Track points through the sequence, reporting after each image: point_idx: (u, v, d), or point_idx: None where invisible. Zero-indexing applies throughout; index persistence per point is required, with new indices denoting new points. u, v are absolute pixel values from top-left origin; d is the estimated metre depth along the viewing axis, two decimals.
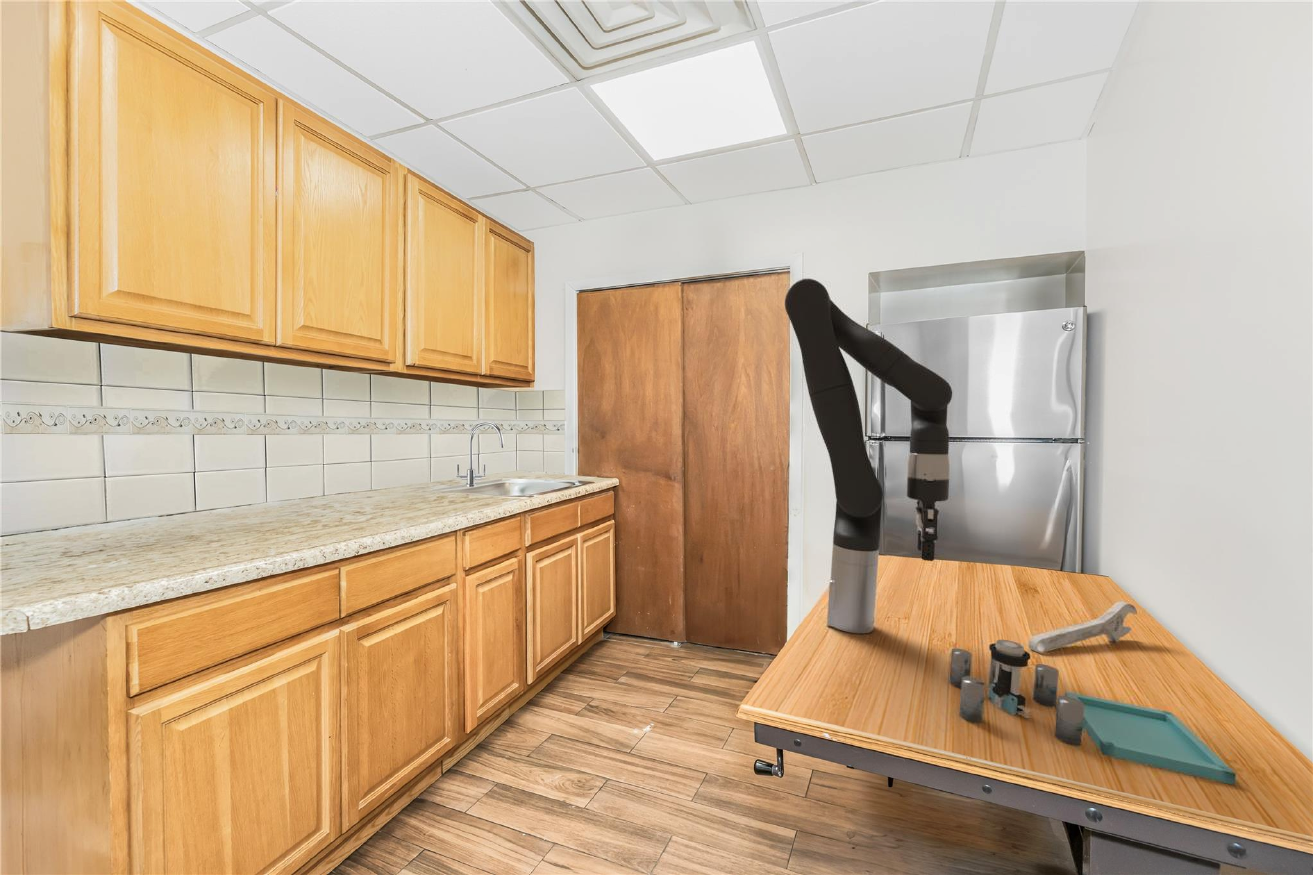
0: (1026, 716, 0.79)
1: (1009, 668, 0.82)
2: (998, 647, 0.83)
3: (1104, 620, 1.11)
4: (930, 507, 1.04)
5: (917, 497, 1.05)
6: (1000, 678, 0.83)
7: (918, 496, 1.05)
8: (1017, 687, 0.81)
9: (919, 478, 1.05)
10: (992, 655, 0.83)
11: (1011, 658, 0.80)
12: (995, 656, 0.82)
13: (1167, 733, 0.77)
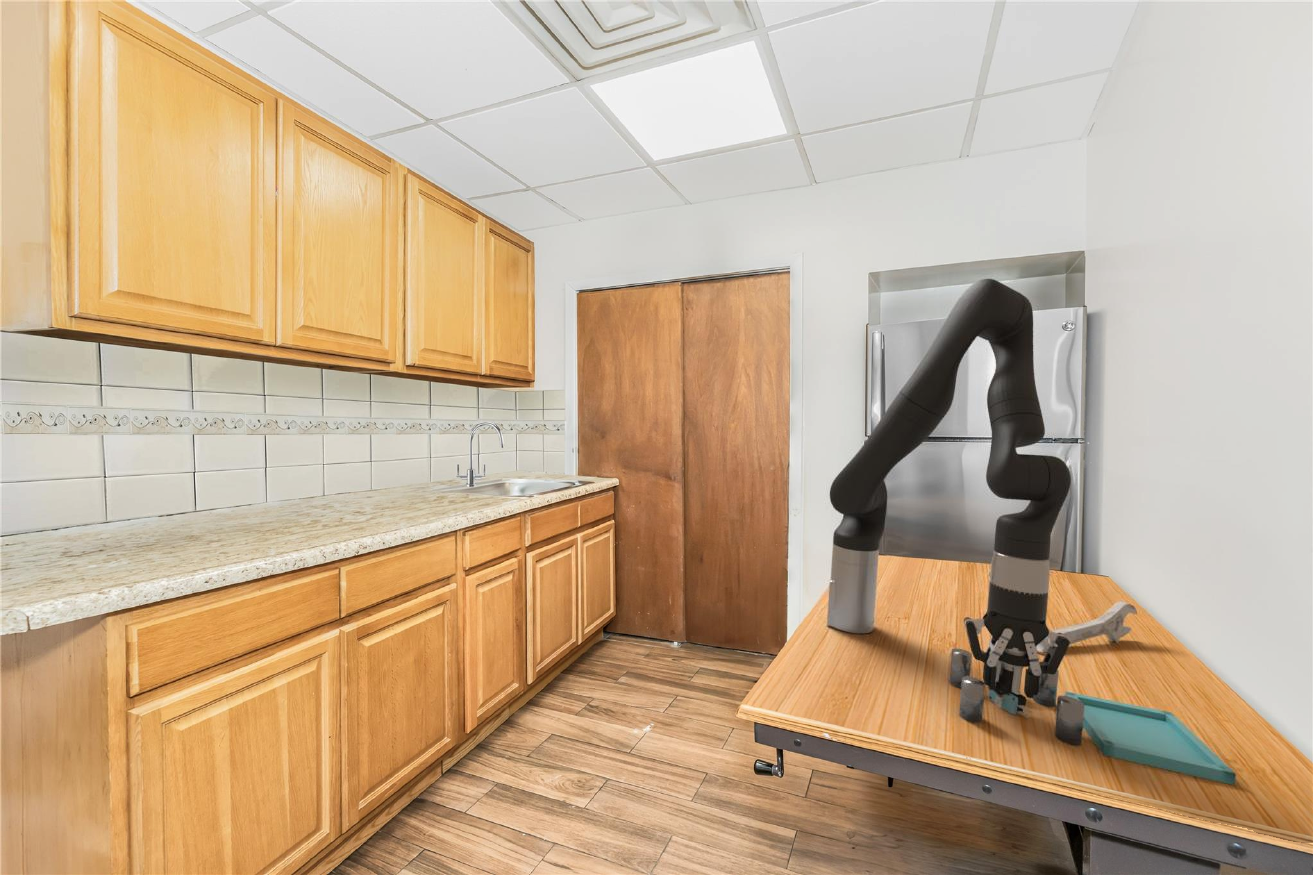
0: (1026, 716, 0.79)
1: (1011, 668, 0.82)
2: None
3: (1104, 620, 1.11)
4: None
5: (1044, 618, 0.79)
6: (1001, 677, 0.83)
7: (1045, 616, 0.79)
8: (1018, 687, 0.81)
9: (1046, 592, 0.79)
10: None
11: (1014, 657, 0.80)
12: None
13: (1167, 733, 0.77)
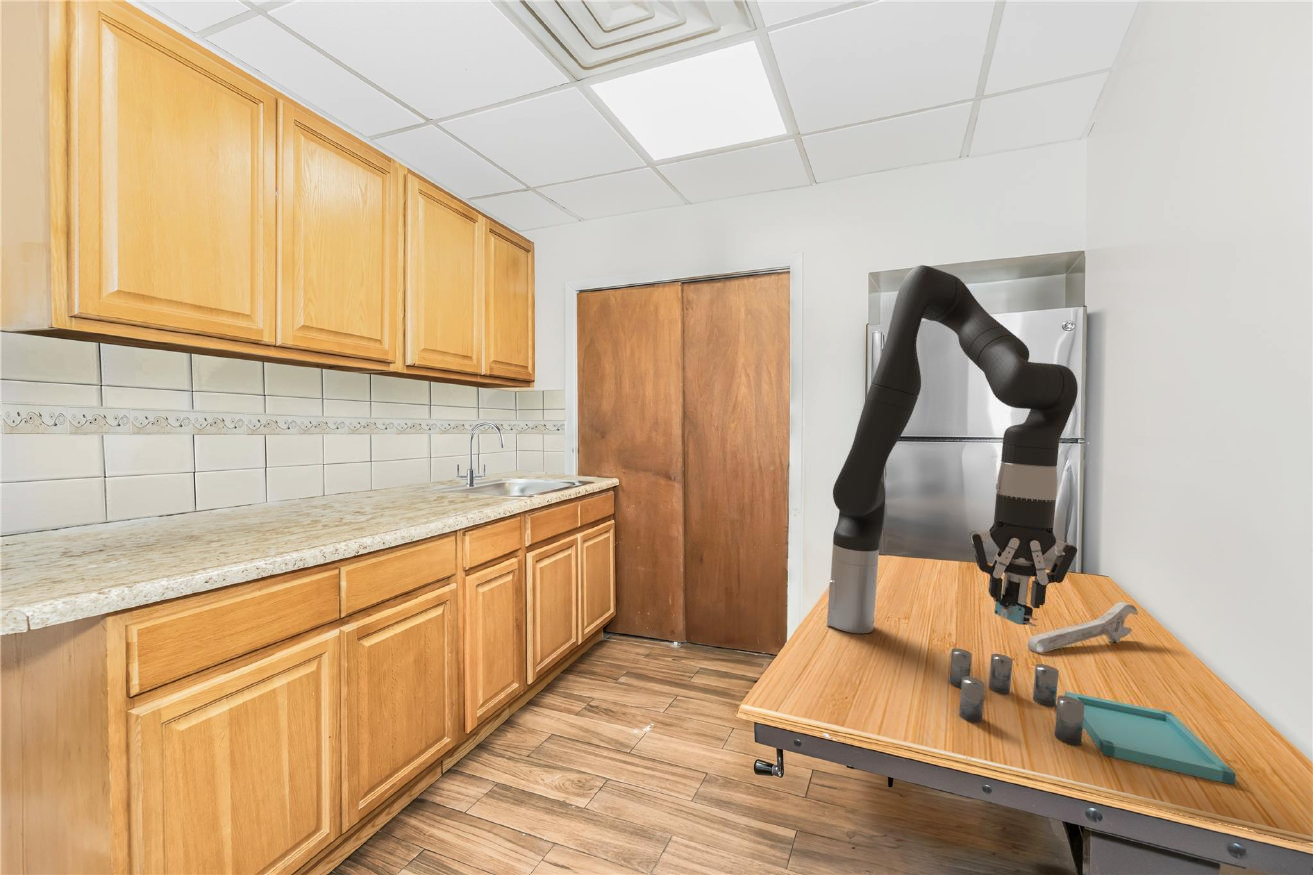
0: (1033, 625, 0.79)
1: (1017, 579, 0.81)
2: None
3: (1104, 620, 1.10)
4: None
5: (1051, 525, 0.78)
6: (1008, 589, 0.82)
7: (1052, 524, 0.78)
8: (1025, 597, 0.81)
9: (1054, 499, 0.78)
10: None
11: (1020, 567, 0.80)
12: None
13: (1167, 733, 0.77)
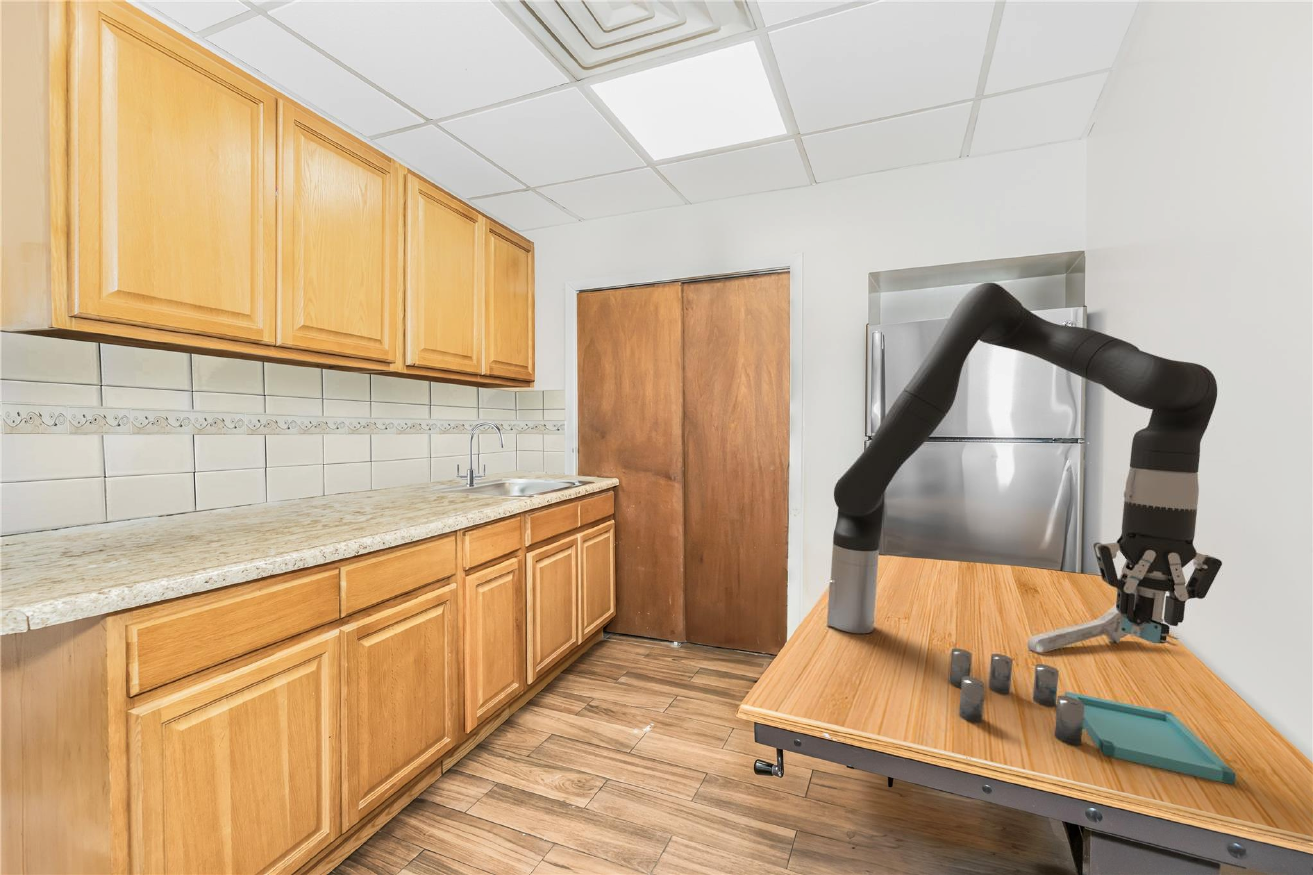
0: (1173, 644, 0.73)
1: (1150, 594, 0.75)
2: None
3: (1104, 621, 1.10)
4: None
5: (1193, 536, 0.72)
6: (1139, 605, 0.76)
7: (1194, 535, 0.72)
8: (1160, 614, 0.75)
9: (1196, 508, 0.72)
10: None
11: (1157, 581, 0.74)
12: None
13: (1167, 733, 0.77)
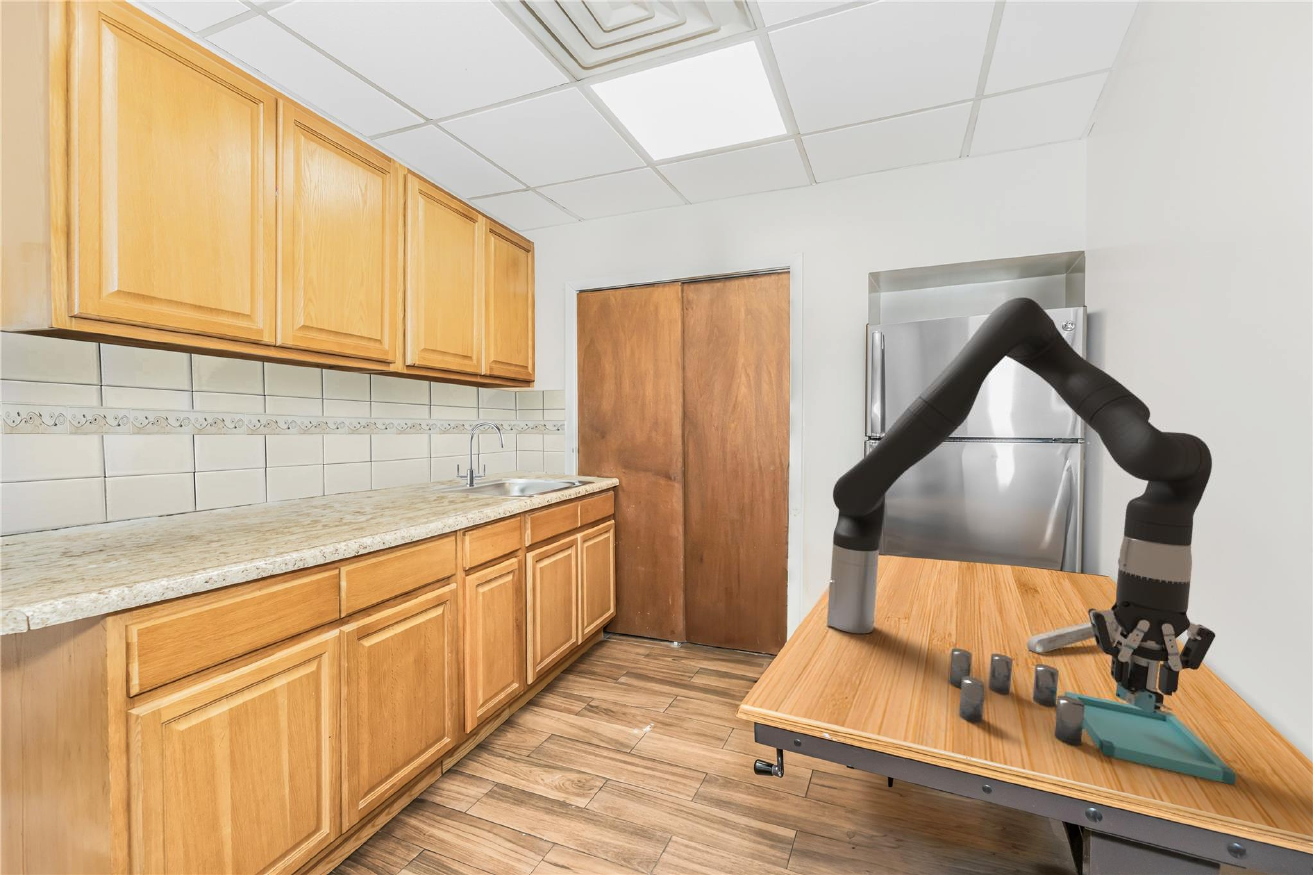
0: (1167, 714, 0.73)
1: (1145, 662, 0.76)
2: None
3: None
4: None
5: (1187, 608, 0.73)
6: (1133, 673, 0.77)
7: (1187, 606, 0.73)
8: (1154, 683, 0.75)
9: (1189, 580, 0.73)
10: None
11: (1151, 651, 0.74)
12: None
13: (1167, 733, 0.77)
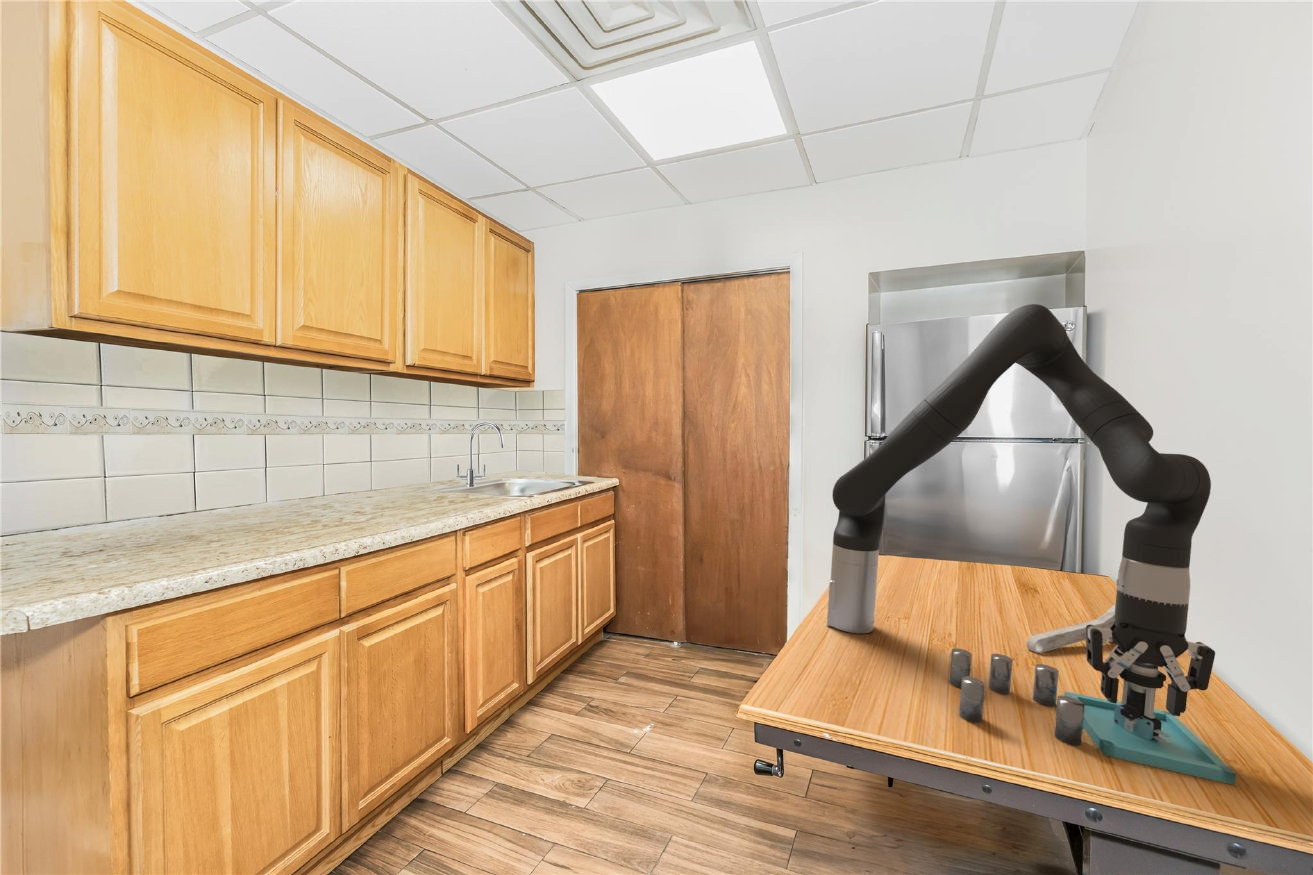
0: (1165, 742, 0.73)
1: (1142, 689, 0.76)
2: (1129, 667, 0.77)
3: (1104, 621, 1.10)
4: None
5: (1185, 630, 0.73)
6: (1131, 699, 0.77)
7: (1185, 628, 0.73)
8: (1152, 710, 0.75)
9: (1187, 602, 0.73)
10: (1122, 675, 0.77)
11: (1148, 679, 0.74)
12: (1127, 676, 0.76)
13: (1167, 733, 0.77)
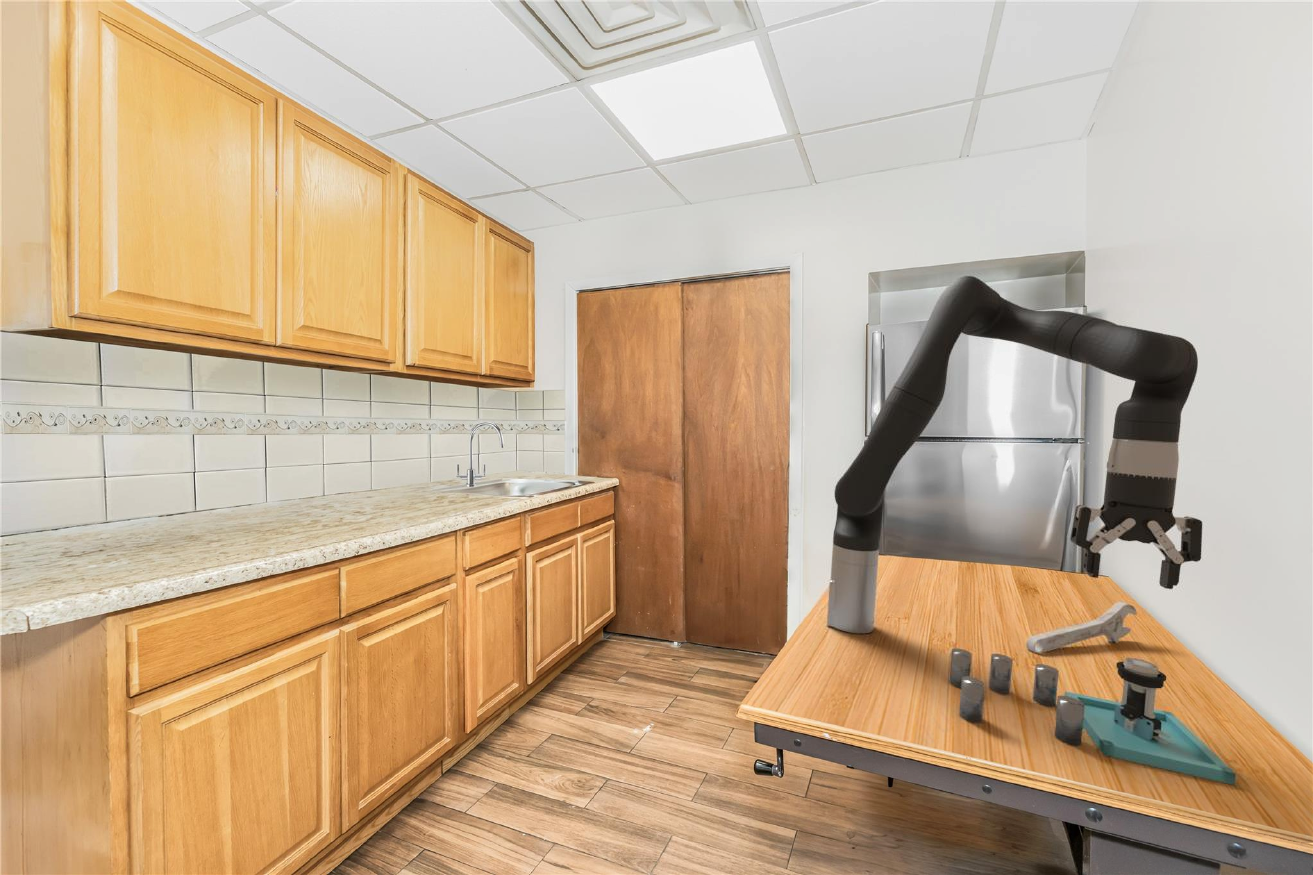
0: (1165, 742, 0.73)
1: (1142, 689, 0.76)
2: (1129, 667, 0.77)
3: (1103, 621, 1.10)
4: None
5: (1172, 505, 0.74)
6: (1131, 699, 0.77)
7: (1173, 503, 0.74)
8: (1152, 710, 0.75)
9: (1175, 477, 0.74)
10: (1122, 675, 0.77)
11: (1148, 679, 0.74)
12: (1127, 676, 0.76)
13: (1167, 733, 0.77)
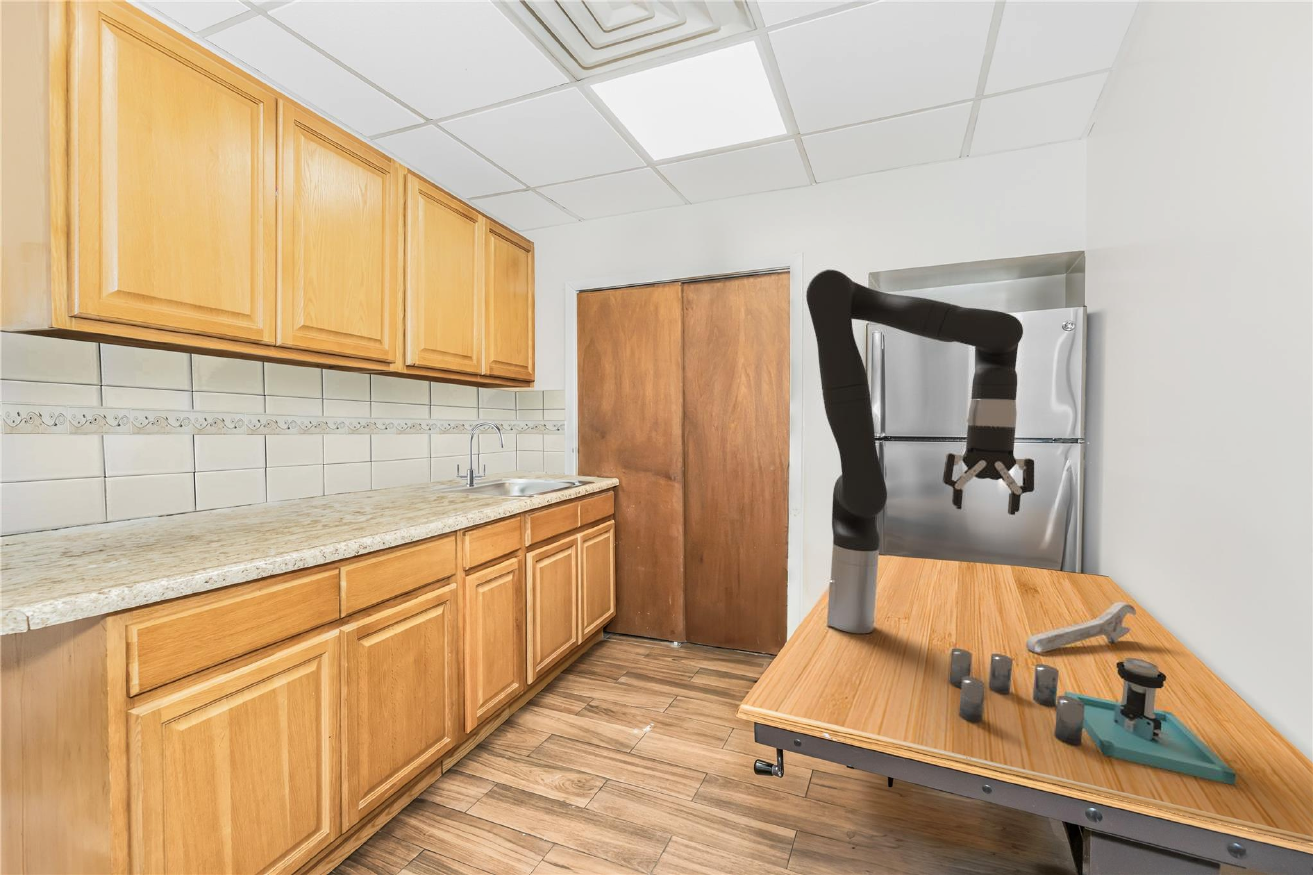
0: (1165, 742, 0.73)
1: (1142, 689, 0.76)
2: (1129, 667, 0.77)
3: (1103, 620, 1.10)
4: None
5: (1012, 448, 0.95)
6: (1130, 699, 0.77)
7: (1012, 447, 0.95)
8: (1152, 710, 0.75)
9: (1013, 427, 0.95)
10: (1122, 675, 0.77)
11: (1148, 679, 0.74)
12: (1127, 676, 0.76)
13: (1167, 733, 0.77)
